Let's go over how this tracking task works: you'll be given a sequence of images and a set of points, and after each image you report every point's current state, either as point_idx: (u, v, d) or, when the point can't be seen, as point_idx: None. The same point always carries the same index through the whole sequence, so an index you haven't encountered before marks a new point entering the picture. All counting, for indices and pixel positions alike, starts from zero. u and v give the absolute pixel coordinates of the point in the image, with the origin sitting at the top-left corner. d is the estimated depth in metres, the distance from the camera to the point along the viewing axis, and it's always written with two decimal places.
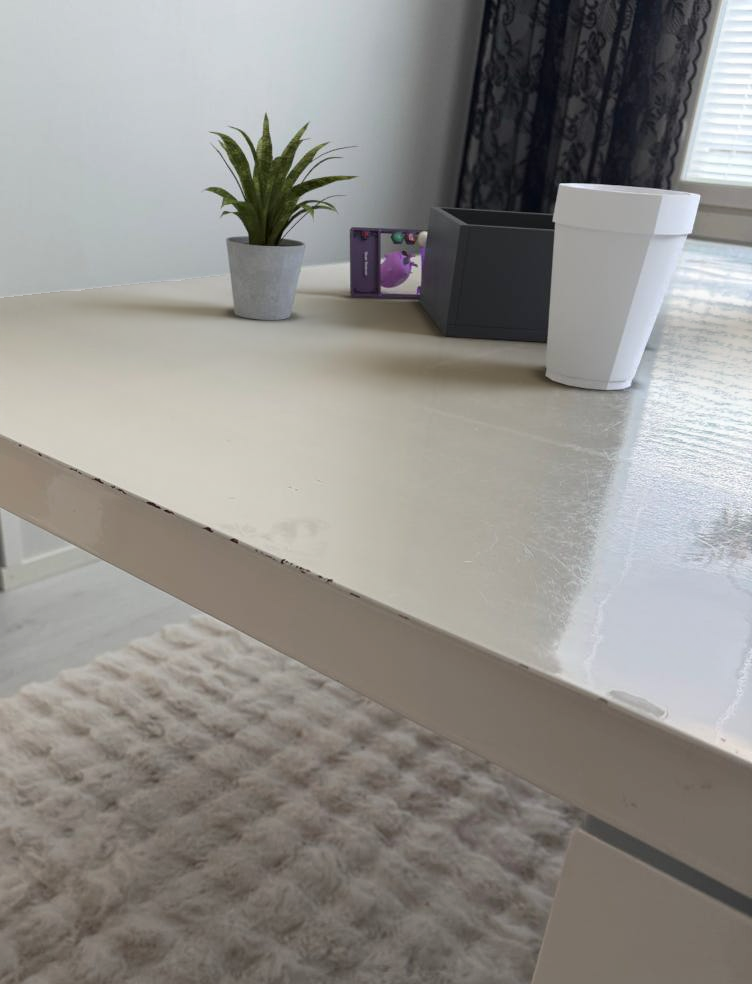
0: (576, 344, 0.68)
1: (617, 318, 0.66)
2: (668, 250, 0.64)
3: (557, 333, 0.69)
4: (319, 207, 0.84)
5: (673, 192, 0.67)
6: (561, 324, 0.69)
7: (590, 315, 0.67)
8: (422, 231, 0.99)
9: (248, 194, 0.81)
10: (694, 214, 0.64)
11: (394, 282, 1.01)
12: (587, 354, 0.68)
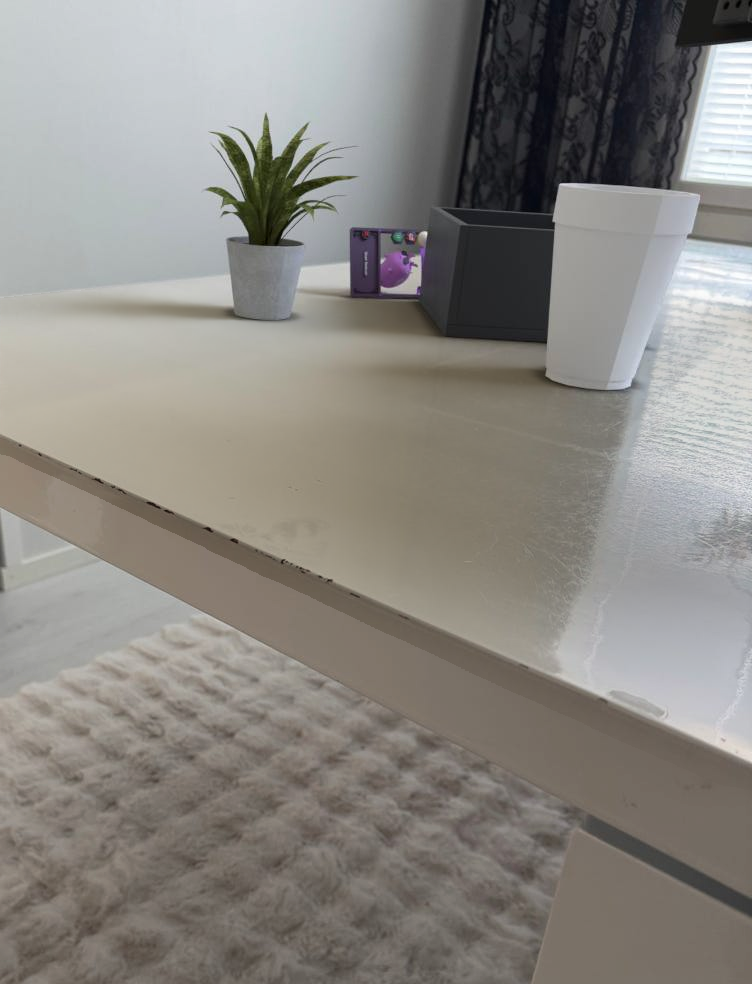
0: (576, 344, 0.68)
1: (617, 318, 0.66)
2: (668, 250, 0.64)
3: (557, 333, 0.69)
4: (319, 207, 0.84)
5: (673, 192, 0.67)
6: (561, 324, 0.69)
7: (590, 315, 0.67)
8: (422, 231, 0.99)
9: (248, 194, 0.81)
10: (694, 214, 0.64)
11: (394, 282, 1.01)
12: (587, 354, 0.68)
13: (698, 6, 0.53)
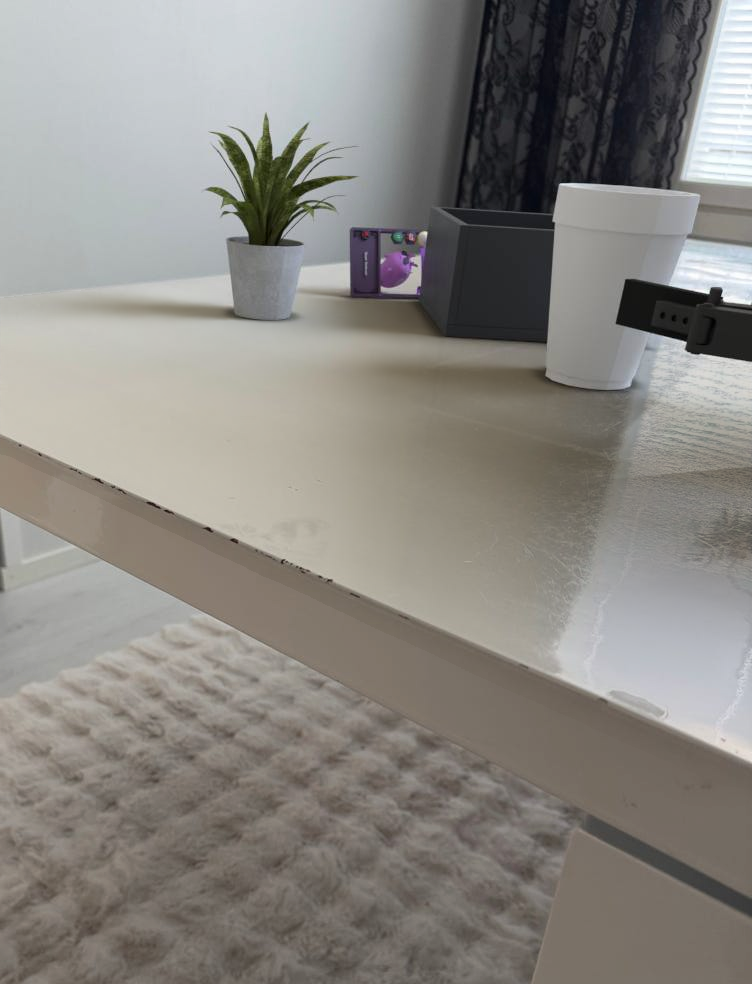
0: (576, 344, 0.68)
1: None
2: (668, 250, 0.64)
3: (557, 333, 0.69)
4: (319, 207, 0.84)
5: (673, 192, 0.67)
6: (561, 324, 0.69)
7: (590, 315, 0.67)
8: (422, 231, 0.99)
9: (248, 194, 0.81)
10: (694, 214, 0.64)
11: (394, 282, 1.01)
12: (587, 354, 0.68)
13: (635, 296, 0.59)
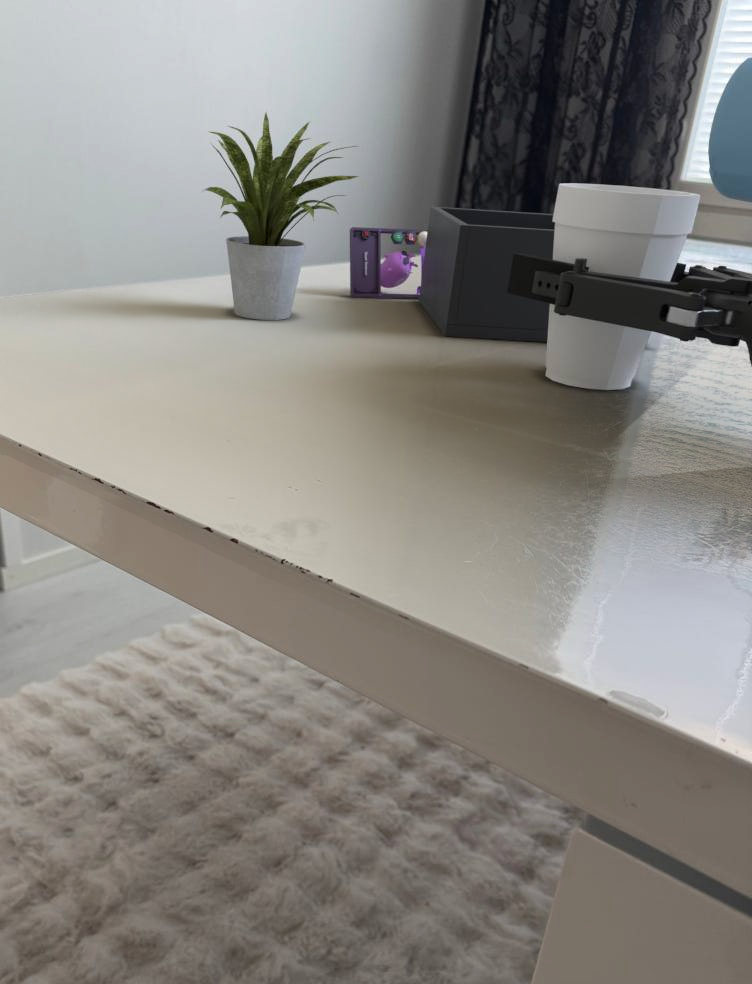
0: (576, 344, 0.68)
1: None
2: (668, 250, 0.64)
3: (557, 333, 0.69)
4: (319, 207, 0.84)
5: (673, 192, 0.67)
6: (561, 324, 0.69)
7: None
8: (422, 231, 0.99)
9: (248, 194, 0.81)
10: (694, 214, 0.64)
11: (394, 282, 1.01)
12: (587, 354, 0.68)
13: (521, 268, 0.68)
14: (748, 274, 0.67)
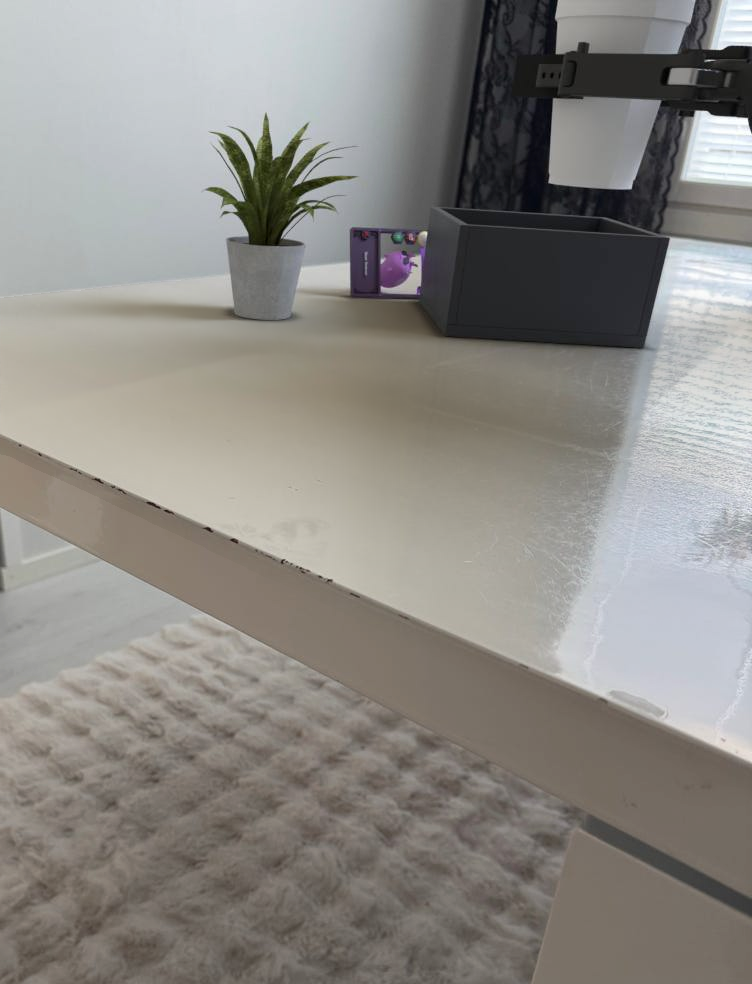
0: (579, 141, 0.70)
1: (618, 110, 0.68)
2: (668, 37, 0.66)
3: (560, 133, 0.71)
4: (319, 207, 0.84)
5: None
6: (564, 123, 0.70)
7: (592, 109, 0.69)
8: (422, 231, 0.99)
9: (248, 194, 0.81)
10: (693, 2, 0.66)
11: (394, 282, 1.01)
12: (589, 151, 0.70)
13: (525, 68, 0.70)
14: None
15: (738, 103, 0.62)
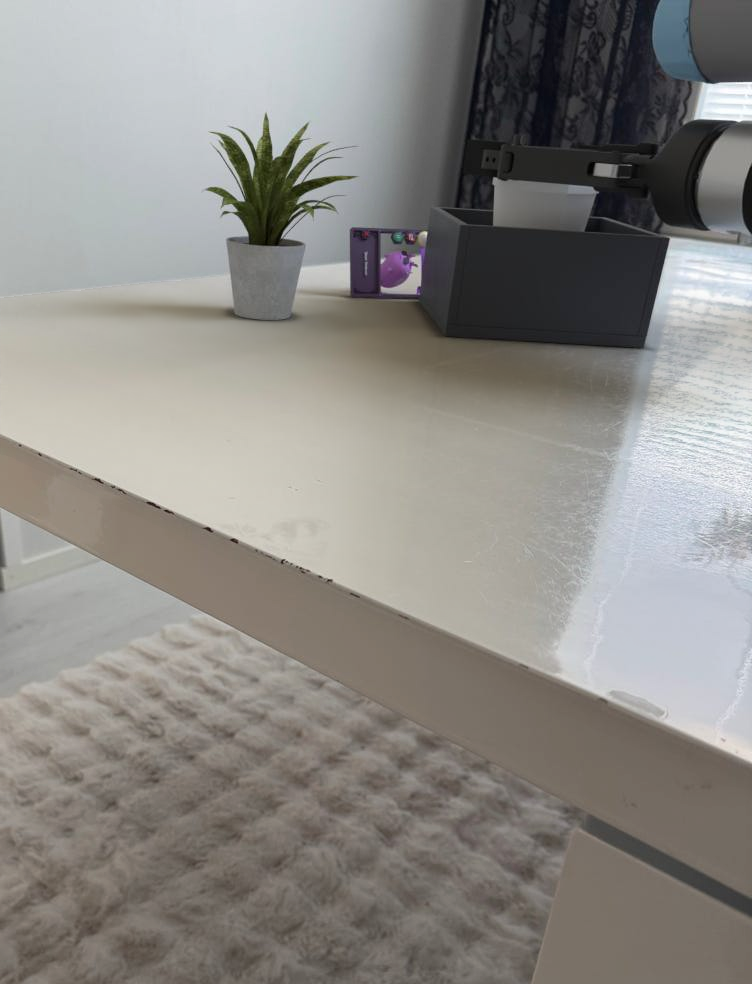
0: None
1: None
2: (580, 206, 0.83)
3: None
4: (319, 207, 0.84)
5: None
6: None
7: None
8: (422, 231, 0.99)
9: (248, 194, 0.81)
10: None
11: (394, 282, 1.01)
12: None
13: (473, 151, 0.83)
14: None
15: (647, 188, 0.76)
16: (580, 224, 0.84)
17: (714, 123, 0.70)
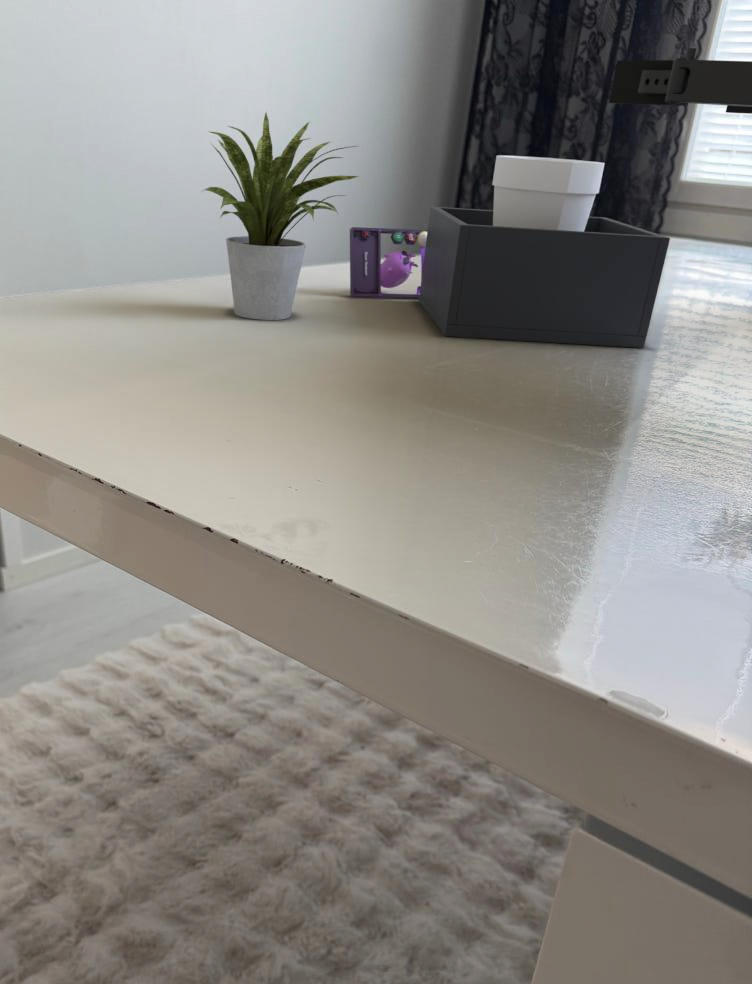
0: None
1: None
2: (580, 206, 0.83)
3: None
4: (319, 207, 0.84)
5: (587, 162, 0.86)
6: None
7: None
8: (422, 231, 0.99)
9: (248, 194, 0.81)
10: (600, 178, 0.83)
11: (394, 282, 1.01)
12: None
13: (625, 74, 0.70)
14: None
15: None
16: (580, 224, 0.84)
17: None
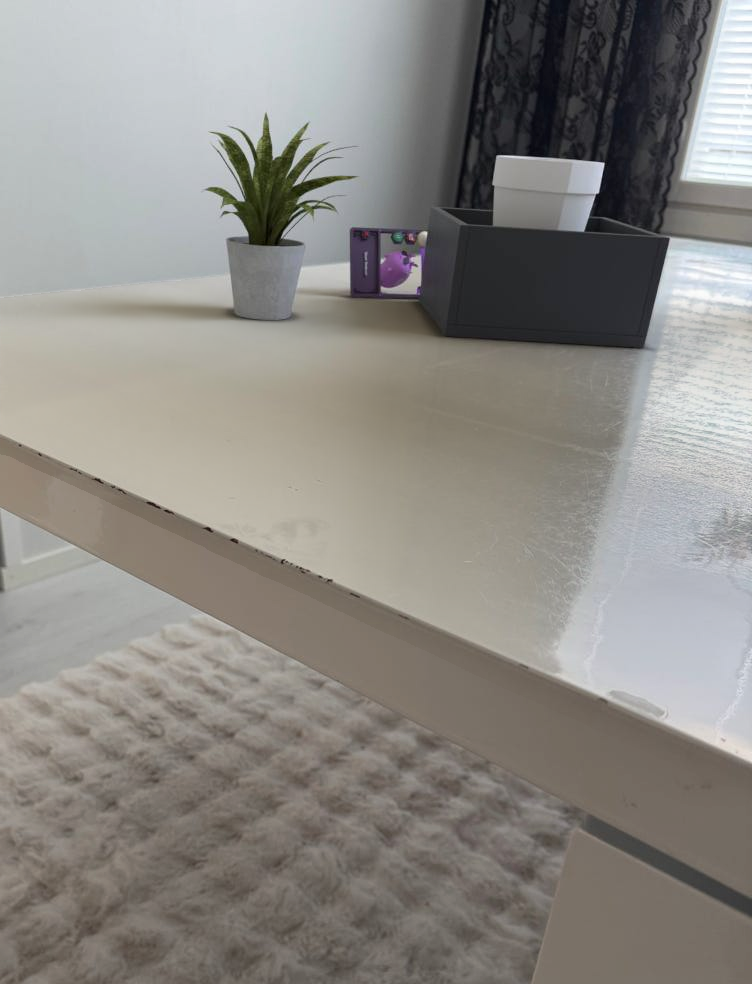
0: None
1: None
2: (580, 206, 0.83)
3: None
4: (319, 207, 0.84)
5: (587, 162, 0.86)
6: None
7: None
8: (422, 231, 0.99)
9: (248, 194, 0.81)
10: (600, 178, 0.83)
11: (394, 282, 1.01)
12: None
13: None
14: None
15: None
16: (580, 224, 0.84)
17: None
